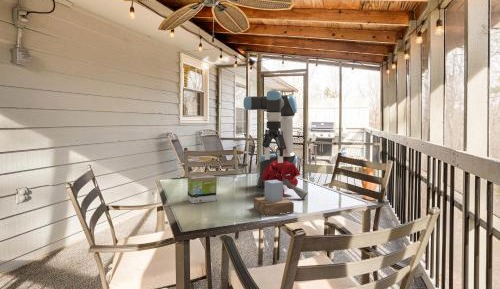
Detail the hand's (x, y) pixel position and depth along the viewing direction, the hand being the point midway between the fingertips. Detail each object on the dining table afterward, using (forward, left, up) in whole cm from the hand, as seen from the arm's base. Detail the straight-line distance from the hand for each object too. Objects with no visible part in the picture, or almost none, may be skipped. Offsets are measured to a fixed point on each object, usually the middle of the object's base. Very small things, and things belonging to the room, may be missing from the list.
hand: (273, 161), depth 166 cm
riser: (0, 0, -27) cm, 27 cm away
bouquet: (-21, +20, -27) cm, 40 cm away
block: (0, 0, -21) cm, 21 cm away
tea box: (-36, -28, -27) cm, 53 cm away
